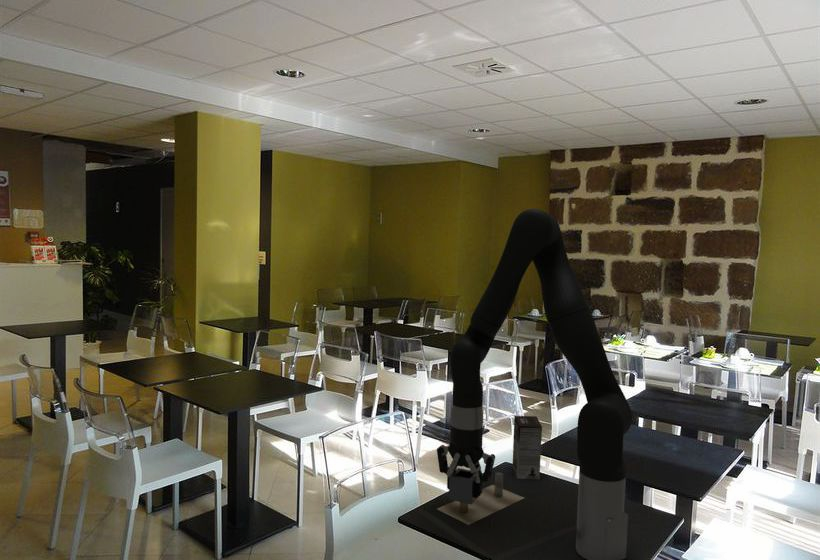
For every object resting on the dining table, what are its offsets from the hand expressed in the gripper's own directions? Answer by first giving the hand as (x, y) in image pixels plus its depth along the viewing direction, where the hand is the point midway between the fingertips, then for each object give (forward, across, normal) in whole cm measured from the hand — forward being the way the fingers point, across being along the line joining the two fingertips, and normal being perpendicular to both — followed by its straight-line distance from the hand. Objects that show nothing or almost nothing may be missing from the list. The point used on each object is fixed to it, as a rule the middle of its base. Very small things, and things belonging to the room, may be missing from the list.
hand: (464, 493), depth 138 cm
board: (+6, -2, -6) cm, 9 cm away
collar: (+1, 0, 0) cm, 1 cm away
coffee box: (+6, -7, -30) cm, 31 cm away
